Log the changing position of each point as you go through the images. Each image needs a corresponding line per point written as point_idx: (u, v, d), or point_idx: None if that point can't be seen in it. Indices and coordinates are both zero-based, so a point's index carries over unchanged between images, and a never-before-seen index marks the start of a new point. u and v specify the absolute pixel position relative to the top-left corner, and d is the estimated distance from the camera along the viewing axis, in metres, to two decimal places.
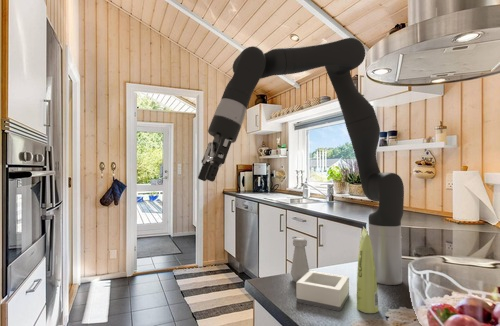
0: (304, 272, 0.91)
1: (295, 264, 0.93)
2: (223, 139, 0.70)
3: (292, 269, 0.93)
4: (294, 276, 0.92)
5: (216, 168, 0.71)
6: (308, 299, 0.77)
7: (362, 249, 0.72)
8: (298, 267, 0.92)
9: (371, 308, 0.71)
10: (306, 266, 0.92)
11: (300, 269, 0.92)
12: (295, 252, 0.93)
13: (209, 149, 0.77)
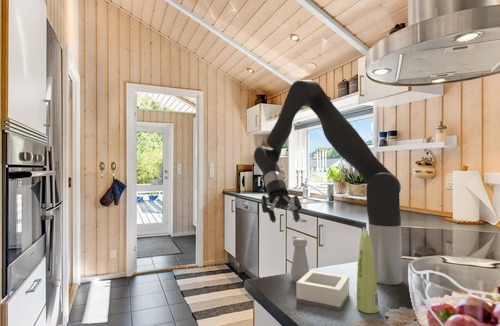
0: (304, 272, 0.91)
1: (295, 264, 0.93)
2: (261, 200, 1.11)
3: (292, 269, 0.93)
4: (294, 276, 0.92)
5: (269, 213, 1.06)
6: (308, 299, 0.77)
7: (362, 249, 0.72)
8: (298, 267, 0.92)
9: (371, 308, 0.71)
10: (306, 266, 0.92)
11: (300, 269, 0.92)
12: (295, 252, 0.93)
13: None
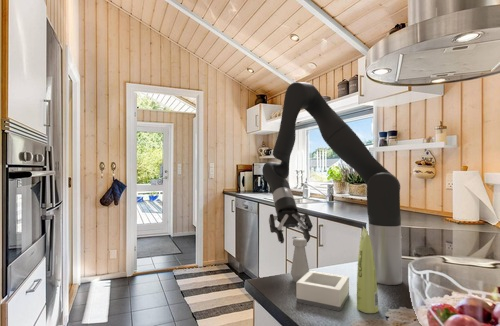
0: (304, 272, 0.91)
1: (295, 264, 0.93)
2: (269, 219, 1.05)
3: (292, 269, 0.93)
4: (294, 276, 0.92)
5: (277, 233, 1.00)
6: (308, 299, 0.77)
7: (362, 249, 0.72)
8: (298, 267, 0.92)
9: (371, 308, 0.71)
10: (306, 266, 0.92)
11: (300, 269, 0.92)
12: (295, 252, 0.93)
13: None
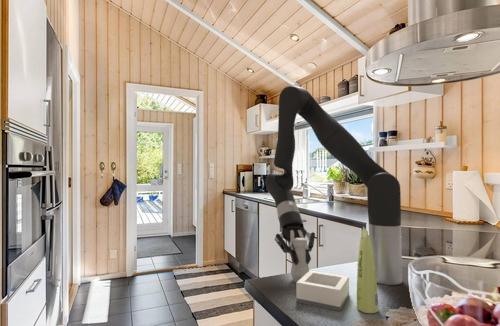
0: (304, 272, 0.91)
1: None
2: (275, 239, 0.98)
3: (292, 269, 0.93)
4: (294, 276, 0.92)
5: (291, 253, 0.94)
6: (308, 299, 0.77)
7: (362, 249, 0.72)
8: (298, 267, 0.92)
9: (371, 308, 0.71)
10: (306, 266, 0.92)
11: (300, 269, 0.92)
12: None
13: None
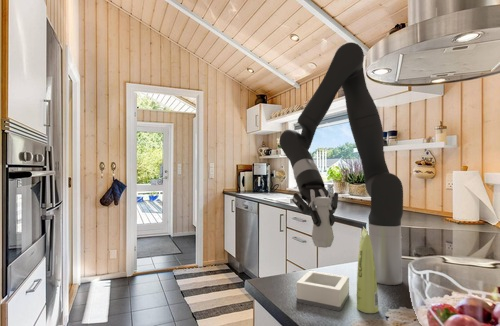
0: (328, 235, 0.79)
1: None
2: (292, 200, 0.85)
3: (313, 231, 0.80)
4: (316, 240, 0.79)
5: (312, 214, 0.81)
6: (308, 299, 0.77)
7: (362, 249, 0.72)
8: (320, 229, 0.79)
9: (371, 308, 0.71)
10: (330, 228, 0.79)
11: (323, 231, 0.79)
12: None
13: None
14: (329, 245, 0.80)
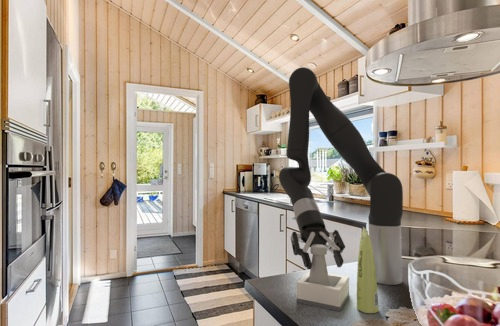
0: None
1: (313, 275, 0.79)
2: None
3: (310, 280, 0.80)
4: None
5: (303, 256, 0.80)
6: (308, 299, 0.77)
7: (362, 249, 0.72)
8: (317, 279, 0.78)
9: (371, 308, 0.71)
10: (326, 278, 0.79)
11: (319, 281, 0.78)
12: (313, 261, 0.80)
13: None
14: None
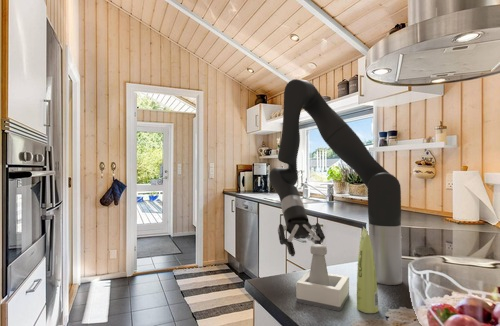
0: None
1: (313, 275, 0.79)
2: (278, 229, 0.98)
3: (310, 280, 0.80)
4: None
5: (288, 245, 0.93)
6: (308, 299, 0.77)
7: (362, 249, 0.72)
8: (317, 279, 0.78)
9: (371, 308, 0.71)
10: (326, 278, 0.79)
11: (319, 281, 0.78)
12: (313, 261, 0.80)
13: None
14: None
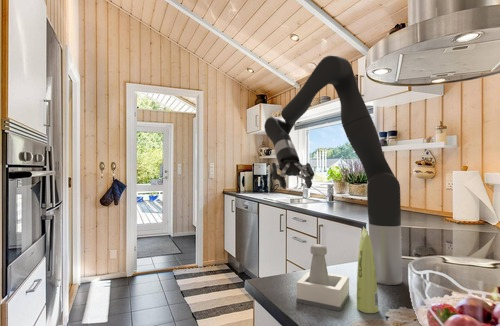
0: None
1: (313, 275, 0.79)
2: (271, 168, 1.06)
3: (310, 280, 0.80)
4: None
5: (280, 179, 1.00)
6: (308, 299, 0.77)
7: (362, 249, 0.72)
8: (317, 279, 0.78)
9: (371, 308, 0.71)
10: (326, 278, 0.79)
11: (319, 281, 0.78)
12: (313, 261, 0.80)
13: None
14: None
